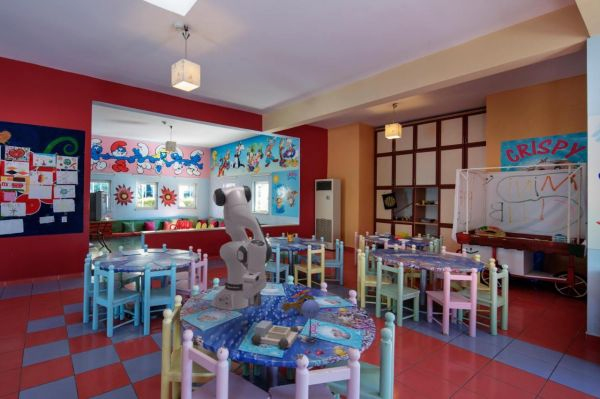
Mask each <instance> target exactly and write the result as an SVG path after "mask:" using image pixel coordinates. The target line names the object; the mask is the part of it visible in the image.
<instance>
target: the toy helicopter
mask: <svg viewBox="0 0 600 399" xmlns="http://www.w3.org/2000/svg"><path fill="white" fill-rule="evenodd" d="M309 292H311V289H310V288H308V289H305V290H301V291H299V293H296V294H294V295H292V298H293V299H295V298H297V297H299V298H298V300H297V301H293V302H288V301H285V302H283V303H282V304H281V310H282V311H283V312H289V311H290V310H292V309H297V311H298V312H297V313H298V314H299V316H300V315H301V316H302V315H303V313H302V310H301V308H302V305H303V303H304V302H305V301H307V300H314V301H316V300H315V297H314V296H313V295H311V294H309Z"/></svg>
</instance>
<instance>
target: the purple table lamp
mask: <svg viewBox="0 0 600 399" xmlns="http://www.w3.org/2000/svg"><path fill="white" fill-rule="evenodd" d="M314 300H315V299H314ZM314 300H307V301H305V302H304V303H303V305H302V308H301V310H302V313H303V314H302V315H303V316H304V317H305V318H306V319H309V330H308V337H309V338H308V339H309V340H310V341H312V319H315V318H317V317H318V315H319V313H320V312H321V307H320V305H319V303H318V302H317V301H316V300H315V301H314Z"/></svg>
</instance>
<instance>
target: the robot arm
mask: <svg viewBox="0 0 600 399" xmlns="http://www.w3.org/2000/svg"><path fill="white" fill-rule="evenodd" d="M252 194H253V193H252V190H251V187H249V186H248V185H232V186H227V187H220V188H217V189H215V190H214V191H213V194H212V196H213V197H212V200H213V202H214V204H215V206H217V207H223V221H224V222H223V223H224V228H225V233H226V234H227V235H229V236H230V238H231V241H228V242H226V243H224V244H222V245H221V247H220V249H219V256H220V258H221V259H222V260H223V261H224V262H225V265H226V268H227V281H226V282H224V283H223V286H224V288H222V289H220V291H219V292H217V293H216V295H215V297H214V300H213V301H211V303H210V307H212V308H216V307H217V309H220V308H221V309H220V310H225V311H229V312H230V311H234V310H243V309H245V308H247V307H249V306H248V301H249V298H250V304H254V303H255V300H254V295H255V294H257V293H259V294H262V291H263V290H264V289H265V288H266V287H267V274H266V263H268V262H269V261H270V260H271V258H272V256H273V249H272V247H271V245H270V244H269V242H268V239H267V238H266V235H265V233H264V231H263V228H262V226H261V224H260V220H259V219H258V218H257V217H256V216H255V215H254V214H253V213H252V212H251V210H250V206H249V204H248V203H249V202H250V201H251V200H252V196H253V195H252ZM245 228H246V229H248V230H249V231H250V232H252V235H253V237H254V239H252V240H251V239H250V238H249V236H248V235H247V232H246V229H245ZM245 264H247V267H246V266H244V265H245Z"/></svg>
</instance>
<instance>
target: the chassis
mask: <svg viewBox="0 0 600 399" xmlns="http://www.w3.org/2000/svg"><path fill="white" fill-rule="evenodd" d="M298 332H299V328H298V326H296V325H292V326H290V327H285V326H280V325H279V326H278V325H273V322H272V321H271V320H263V319H262V320H261V321H259V323H258V324H257V325H255V327H254V334H253V335H252V336H251V337H250V341H251V343H252V344H253V345H258V344H262V345H263V344H264V345H271V346H276V347H279V348H280V349H282V350H285V349H287V348H288V349H290V348H291V347H292V345H293V344H294V343H295V341H296V340H297V338H298V337H299V335H298V334H299V333H298Z"/></svg>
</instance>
